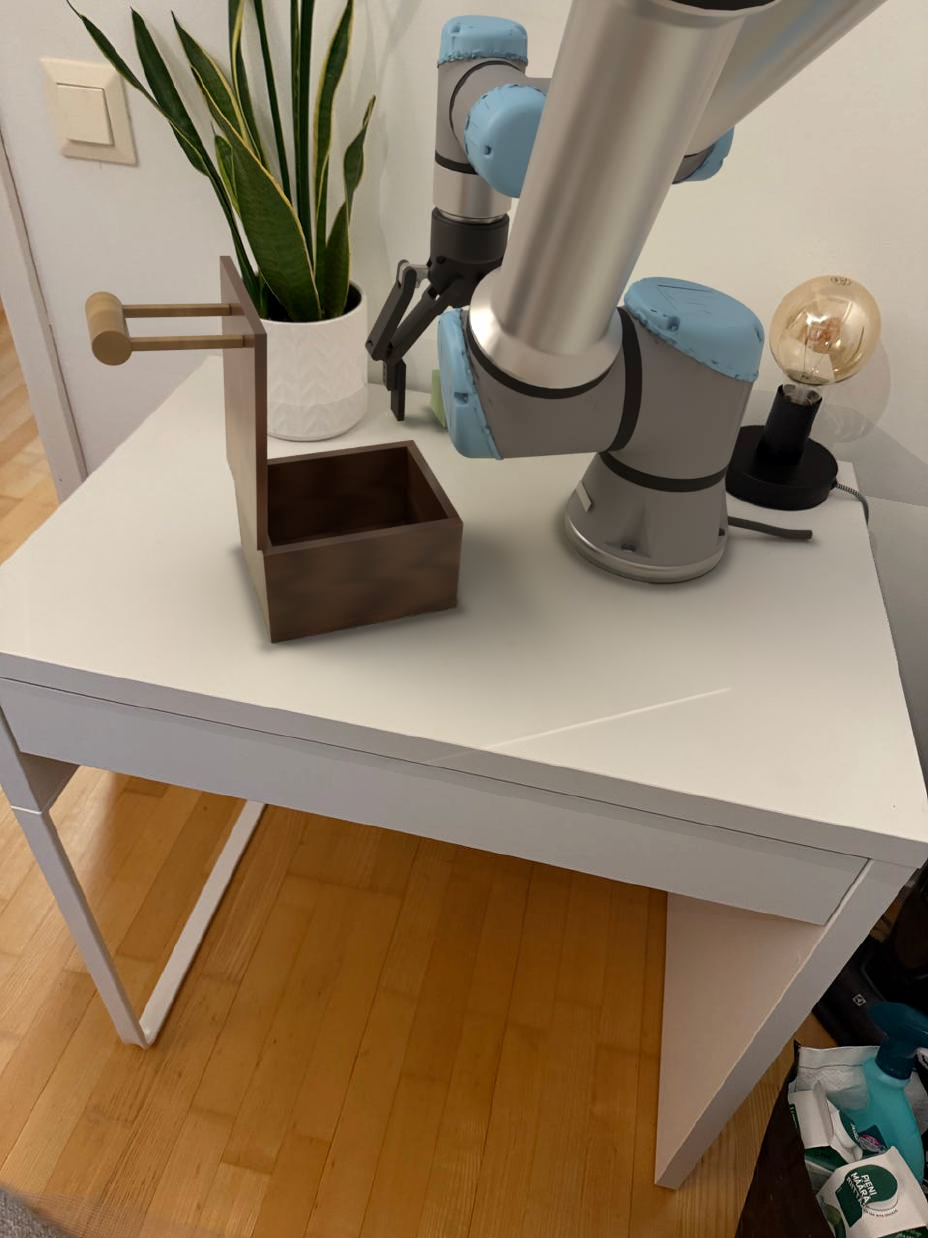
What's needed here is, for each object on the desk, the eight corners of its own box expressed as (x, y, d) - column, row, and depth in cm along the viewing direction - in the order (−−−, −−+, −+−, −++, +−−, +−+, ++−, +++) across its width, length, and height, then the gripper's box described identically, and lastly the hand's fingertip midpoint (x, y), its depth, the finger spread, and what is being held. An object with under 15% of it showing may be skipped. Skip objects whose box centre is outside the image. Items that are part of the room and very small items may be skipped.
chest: (410, 521, 88) (413, 439, 82) (456, 607, 79) (463, 522, 73) (241, 548, 83) (231, 463, 77) (271, 643, 74) (262, 555, 68)
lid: (230, 255, 66) (76, 254, 63) (267, 333, 58) (91, 337, 54) (236, 458, 77) (105, 467, 73) (267, 549, 68) (120, 565, 65)
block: (468, 402, 106) (471, 365, 102) (483, 423, 102) (486, 385, 99) (430, 407, 104) (432, 369, 101) (443, 428, 101) (446, 389, 98)
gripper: (572, 189, 95) (545, 378, 109) (333, 201, 87) (337, 403, 102) (605, 216, 90) (572, 410, 104) (354, 232, 82) (355, 439, 97)
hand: (456, 407), depth 103 cm, fingers open, 13 cm apart
